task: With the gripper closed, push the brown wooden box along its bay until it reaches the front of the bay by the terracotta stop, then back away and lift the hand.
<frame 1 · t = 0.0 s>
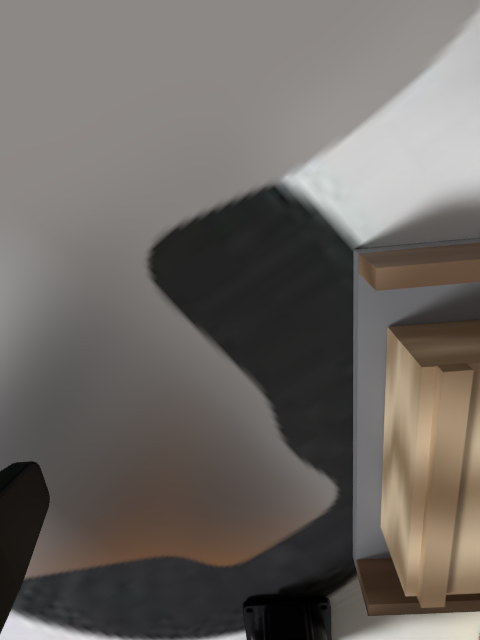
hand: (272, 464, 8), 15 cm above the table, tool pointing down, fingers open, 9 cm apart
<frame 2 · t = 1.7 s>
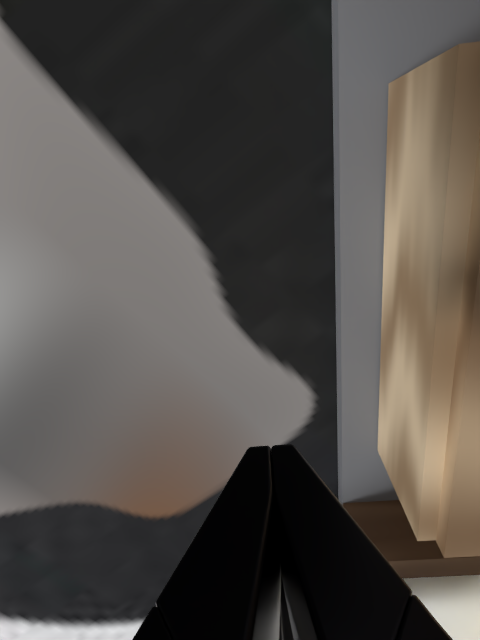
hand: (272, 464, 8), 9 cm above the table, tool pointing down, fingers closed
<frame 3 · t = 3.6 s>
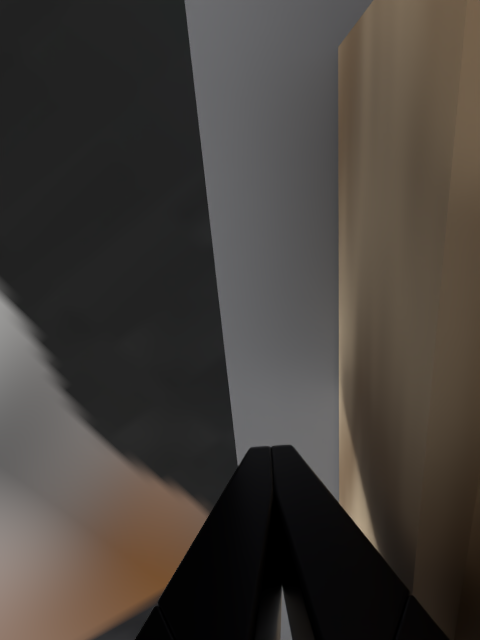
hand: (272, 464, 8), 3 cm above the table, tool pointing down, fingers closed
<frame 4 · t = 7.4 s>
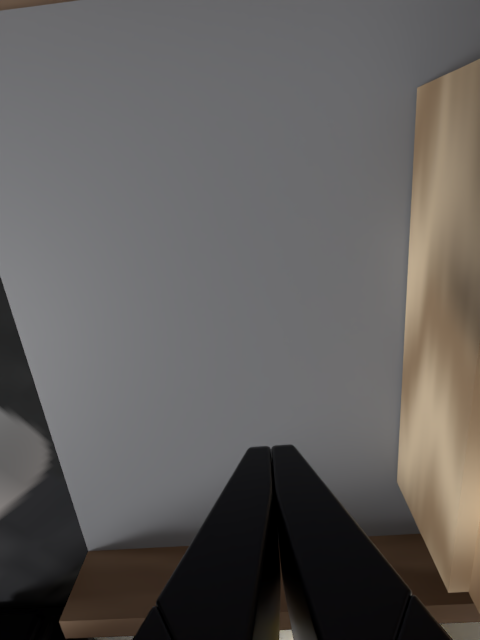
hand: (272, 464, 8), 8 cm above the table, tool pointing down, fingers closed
bay: (366, 312, 15), on the table
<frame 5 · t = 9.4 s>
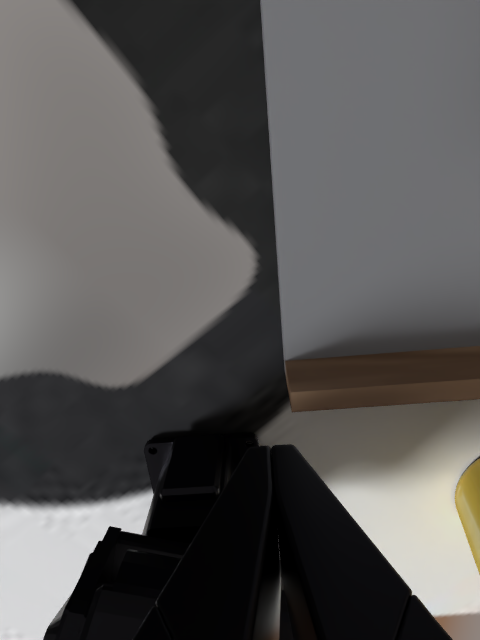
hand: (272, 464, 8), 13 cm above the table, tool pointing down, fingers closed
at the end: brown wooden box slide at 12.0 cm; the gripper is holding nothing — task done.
